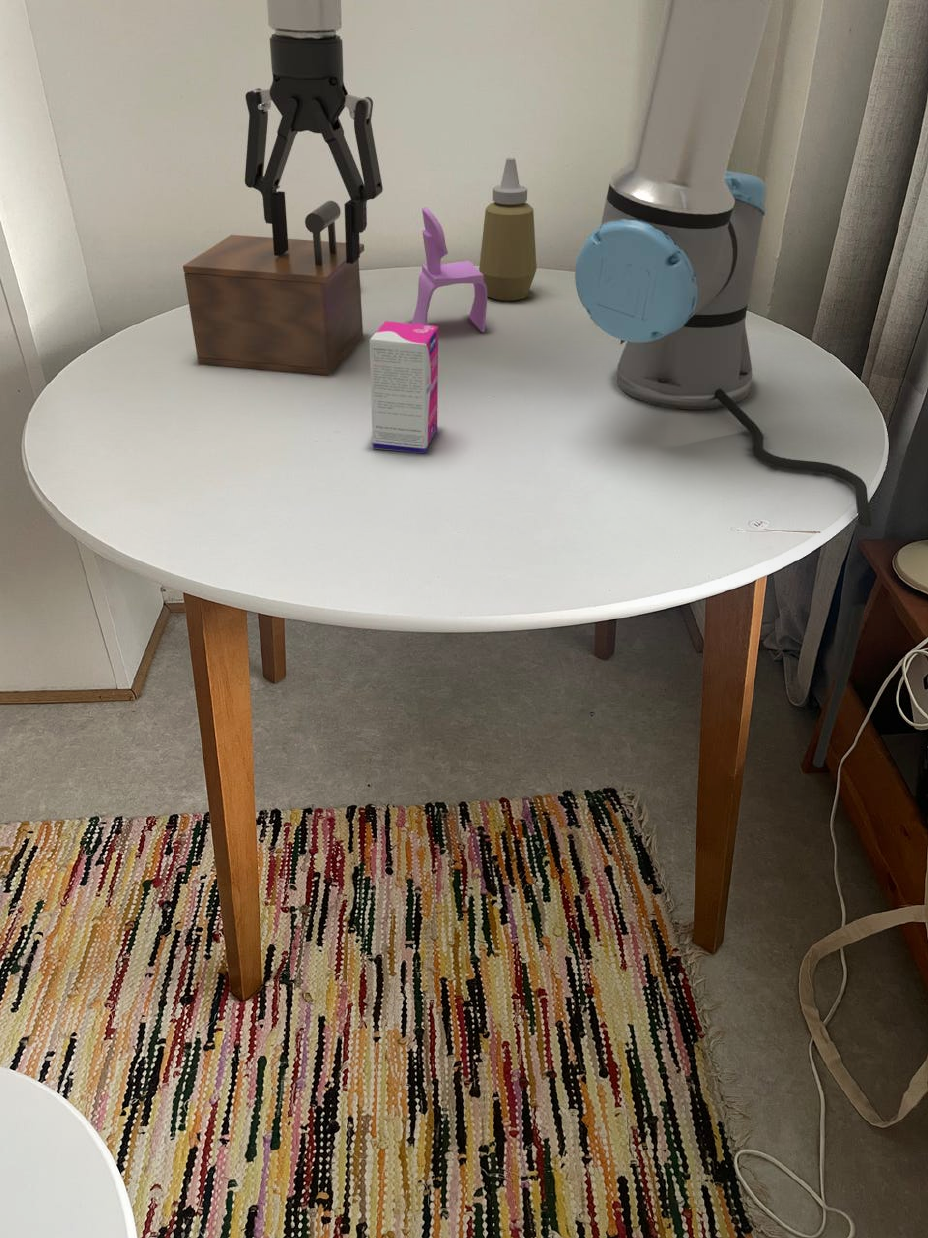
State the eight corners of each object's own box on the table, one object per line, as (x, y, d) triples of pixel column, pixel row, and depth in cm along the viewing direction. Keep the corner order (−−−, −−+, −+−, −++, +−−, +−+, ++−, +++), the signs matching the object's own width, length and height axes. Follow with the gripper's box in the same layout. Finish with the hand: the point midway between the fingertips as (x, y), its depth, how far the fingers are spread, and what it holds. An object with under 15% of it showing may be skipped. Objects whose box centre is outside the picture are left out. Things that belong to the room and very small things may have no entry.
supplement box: (427, 454, 101) (425, 343, 94) (371, 449, 102) (365, 339, 95) (440, 430, 105) (439, 323, 99) (386, 425, 106) (381, 319, 100)
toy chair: (490, 334, 129) (492, 212, 120) (424, 341, 127) (422, 217, 118) (472, 313, 135) (473, 197, 127) (409, 320, 133) (405, 201, 125)
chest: (363, 336, 129) (358, 249, 122) (328, 375, 118) (320, 283, 111) (243, 326, 132) (232, 241, 125) (198, 363, 121) (183, 273, 114)
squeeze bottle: (469, 290, 144) (470, 155, 133) (519, 283, 146) (523, 150, 136) (494, 307, 138) (497, 167, 127) (545, 299, 140) (552, 161, 130)
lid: (364, 250, 122) (361, 194, 118) (327, 283, 111) (323, 222, 108) (231, 241, 125) (224, 185, 121) (183, 272, 114) (174, 213, 111)
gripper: (412, 35, 105) (412, 256, 118) (226, 22, 108) (245, 238, 122) (392, 43, 99) (394, 274, 112) (195, 29, 102) (220, 256, 116)
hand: (317, 255), depth 117 cm, fingers open, 8 cm apart
